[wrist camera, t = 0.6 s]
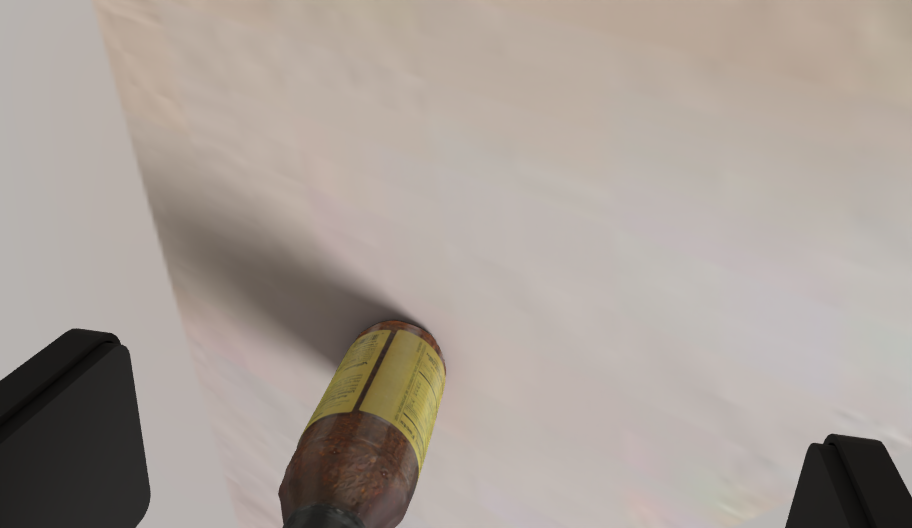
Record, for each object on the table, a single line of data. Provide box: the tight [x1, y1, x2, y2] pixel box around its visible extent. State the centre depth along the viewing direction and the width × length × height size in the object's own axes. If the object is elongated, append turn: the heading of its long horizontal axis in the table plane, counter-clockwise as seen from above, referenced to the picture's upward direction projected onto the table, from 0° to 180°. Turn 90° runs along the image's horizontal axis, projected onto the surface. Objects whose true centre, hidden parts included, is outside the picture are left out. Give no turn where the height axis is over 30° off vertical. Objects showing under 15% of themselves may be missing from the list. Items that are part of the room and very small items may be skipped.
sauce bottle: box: [278, 320, 446, 528], centre depth 38 cm, size 6×6×20 cm
